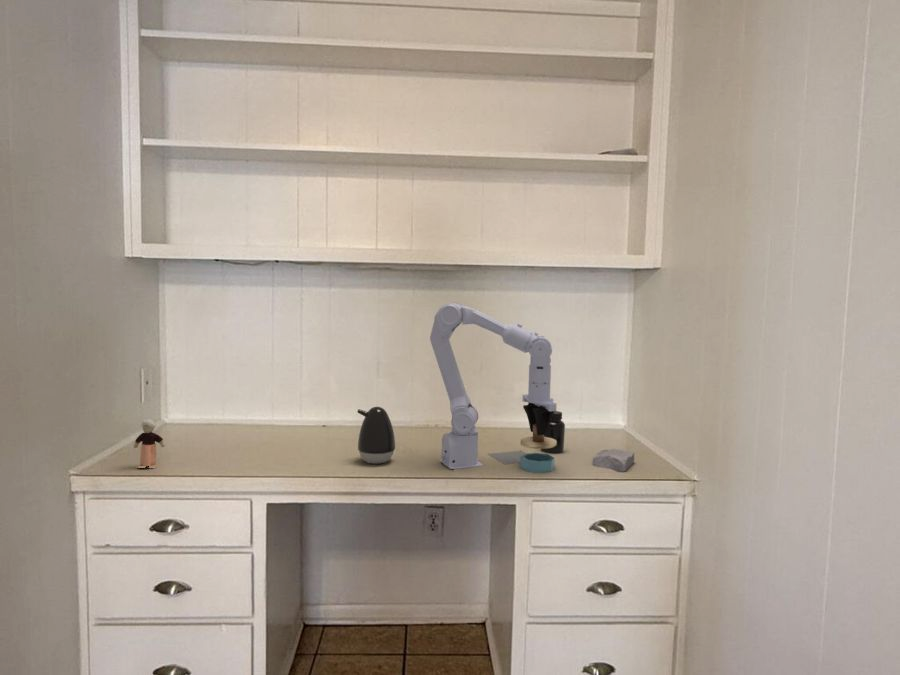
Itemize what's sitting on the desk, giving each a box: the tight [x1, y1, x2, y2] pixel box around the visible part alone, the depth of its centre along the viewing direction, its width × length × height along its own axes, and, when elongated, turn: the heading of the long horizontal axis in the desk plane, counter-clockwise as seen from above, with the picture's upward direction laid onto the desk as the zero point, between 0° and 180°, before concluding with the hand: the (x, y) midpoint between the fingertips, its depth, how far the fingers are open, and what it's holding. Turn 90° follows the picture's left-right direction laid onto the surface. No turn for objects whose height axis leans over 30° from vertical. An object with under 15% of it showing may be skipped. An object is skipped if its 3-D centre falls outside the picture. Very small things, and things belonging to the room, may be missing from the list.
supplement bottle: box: [540, 410, 566, 455], centre depth 182 cm, size 7×7×12 cm
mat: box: [487, 450, 527, 465], centre depth 175 cm, size 11×11×1 cm
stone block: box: [592, 448, 635, 473], centre depth 171 cm, size 12×5×10 cm
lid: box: [519, 424, 557, 450], centre depth 164 cm, size 10×10×5 cm
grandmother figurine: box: [132, 418, 166, 466], centre depth 159 cm, size 8×4×13 cm, turn 106°
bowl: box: [519, 452, 555, 474], centre depth 165 cm, size 8×8×3 cm
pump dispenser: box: [357, 406, 396, 465], centre depth 169 cm, size 10×10×15 cm
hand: (538, 433), depth 164 cm, fingers closed on lid, 3 cm apart
